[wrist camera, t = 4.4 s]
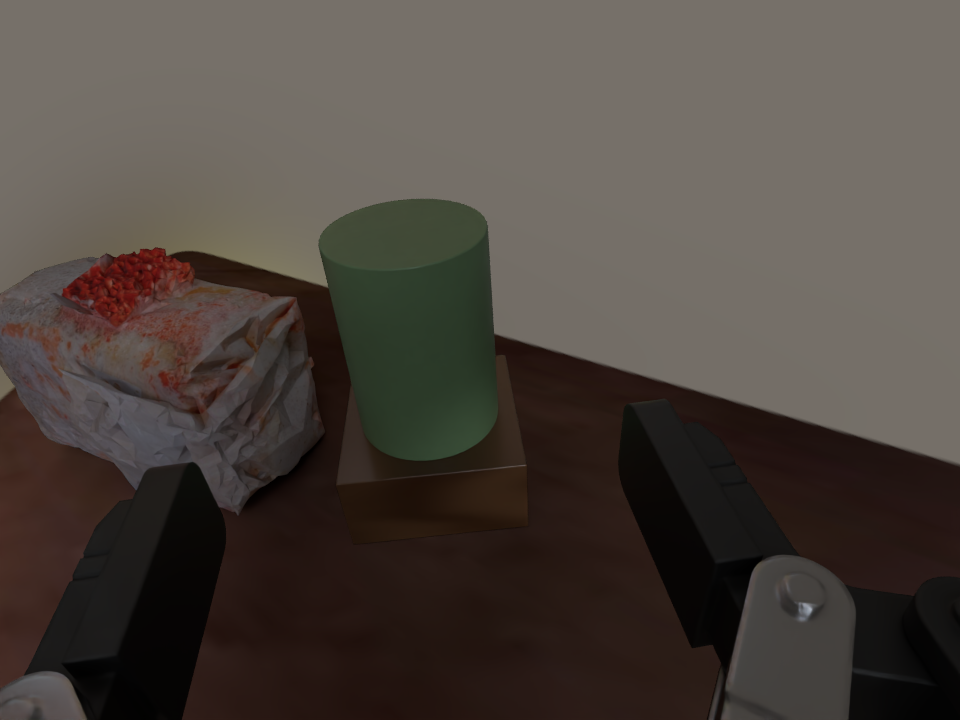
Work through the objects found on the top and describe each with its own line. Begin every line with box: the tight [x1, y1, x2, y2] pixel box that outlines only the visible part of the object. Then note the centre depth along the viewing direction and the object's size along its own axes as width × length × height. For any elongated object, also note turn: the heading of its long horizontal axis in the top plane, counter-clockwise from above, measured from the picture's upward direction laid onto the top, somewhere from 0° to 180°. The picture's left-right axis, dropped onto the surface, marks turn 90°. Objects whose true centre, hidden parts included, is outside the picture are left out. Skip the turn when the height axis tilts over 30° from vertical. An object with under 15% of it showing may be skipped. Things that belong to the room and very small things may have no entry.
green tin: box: [319, 199, 498, 461], centre depth 22 cm, size 6×6×8 cm
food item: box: [0, 248, 325, 516], centre depth 26 cm, size 14×8×10 cm, turn 67°
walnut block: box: [336, 355, 528, 544], centre depth 26 cm, size 7×7×4 cm
